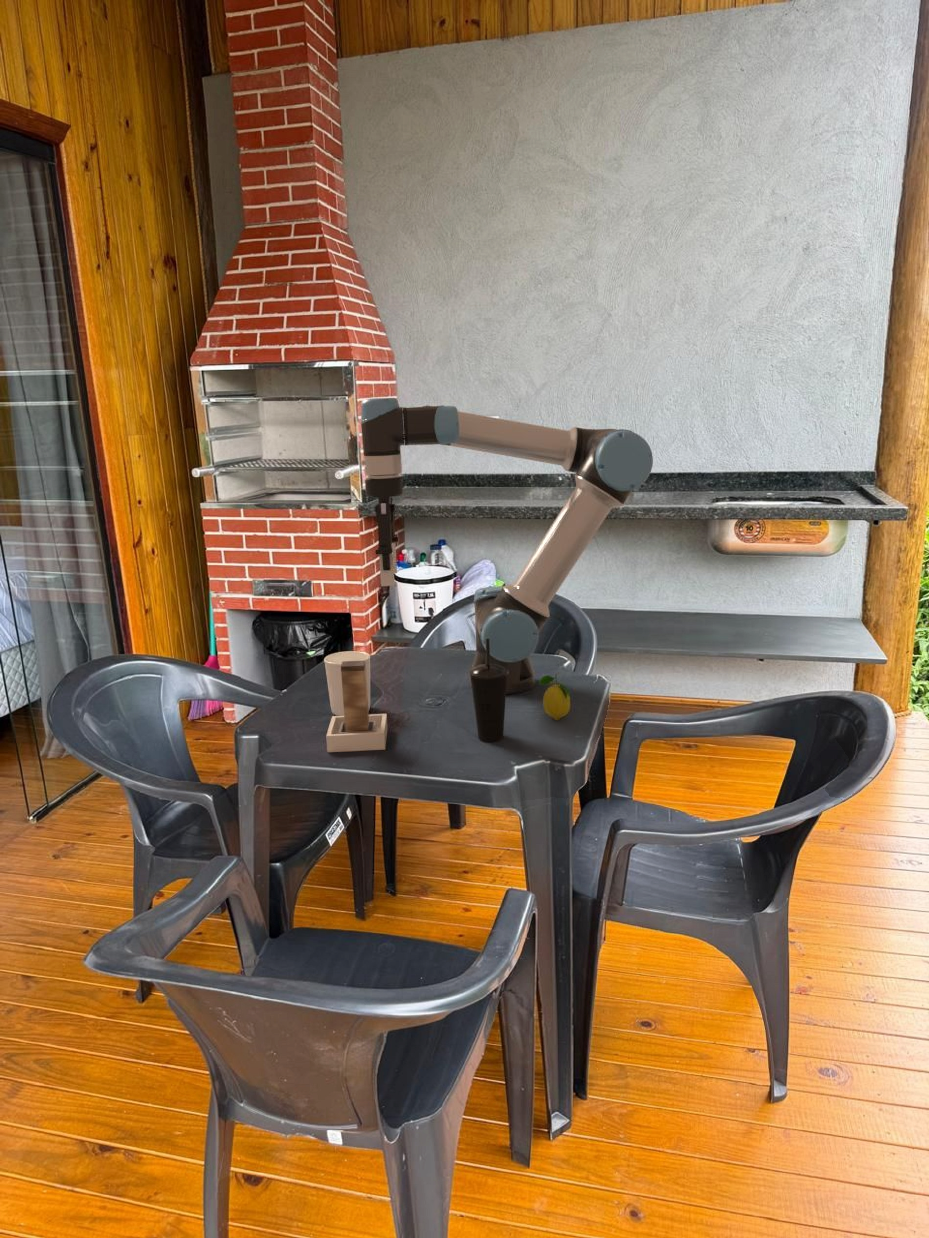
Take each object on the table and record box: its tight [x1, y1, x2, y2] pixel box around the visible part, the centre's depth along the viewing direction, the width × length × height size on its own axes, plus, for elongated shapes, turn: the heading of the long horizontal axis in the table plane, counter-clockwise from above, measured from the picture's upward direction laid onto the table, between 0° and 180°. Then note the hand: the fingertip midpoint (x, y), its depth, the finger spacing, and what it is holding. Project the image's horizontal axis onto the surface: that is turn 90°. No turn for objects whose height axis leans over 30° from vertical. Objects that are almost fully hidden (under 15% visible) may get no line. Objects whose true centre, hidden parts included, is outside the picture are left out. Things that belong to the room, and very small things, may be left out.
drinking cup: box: [468, 639, 508, 743], centre depth 171 cm, size 8×8×20 cm
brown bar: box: [341, 660, 370, 732], centre depth 172 cm, size 4×4×15 cm
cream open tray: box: [325, 713, 389, 753], centre depth 174 cm, size 11×11×3 cm
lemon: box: [538, 673, 572, 721], centre depth 180 cm, size 7×6×10 cm
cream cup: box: [323, 650, 371, 716], centre depth 190 cm, size 10×10×12 cm
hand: (389, 579), depth 184 cm, fingers open, 13 cm apart
